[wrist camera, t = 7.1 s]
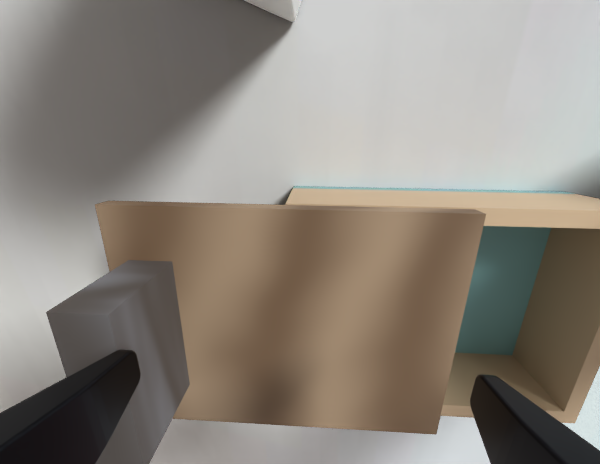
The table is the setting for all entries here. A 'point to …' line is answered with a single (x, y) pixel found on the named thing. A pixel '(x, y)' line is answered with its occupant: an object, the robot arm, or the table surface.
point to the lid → (274, 315)
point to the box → (515, 290)
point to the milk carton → (279, 7)
